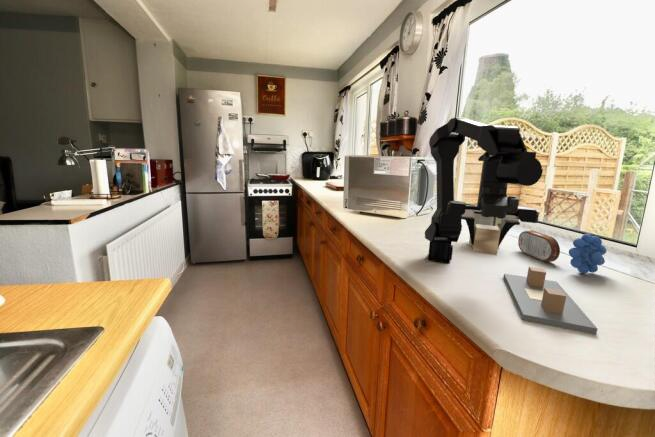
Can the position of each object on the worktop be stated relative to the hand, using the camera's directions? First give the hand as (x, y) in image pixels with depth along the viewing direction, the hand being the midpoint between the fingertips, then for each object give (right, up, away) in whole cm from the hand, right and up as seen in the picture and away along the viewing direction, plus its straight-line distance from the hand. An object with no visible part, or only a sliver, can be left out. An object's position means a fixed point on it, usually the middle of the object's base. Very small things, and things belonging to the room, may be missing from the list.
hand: (484, 245), depth 74 cm
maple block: (0, -1, 0) cm, 1 cm away
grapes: (+36, -10, +14) cm, 40 cm away
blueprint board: (+11, -12, -4) cm, 17 cm away
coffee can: (+20, -4, +40) cm, 45 cm away
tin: (+31, -7, +28) cm, 43 cm away
